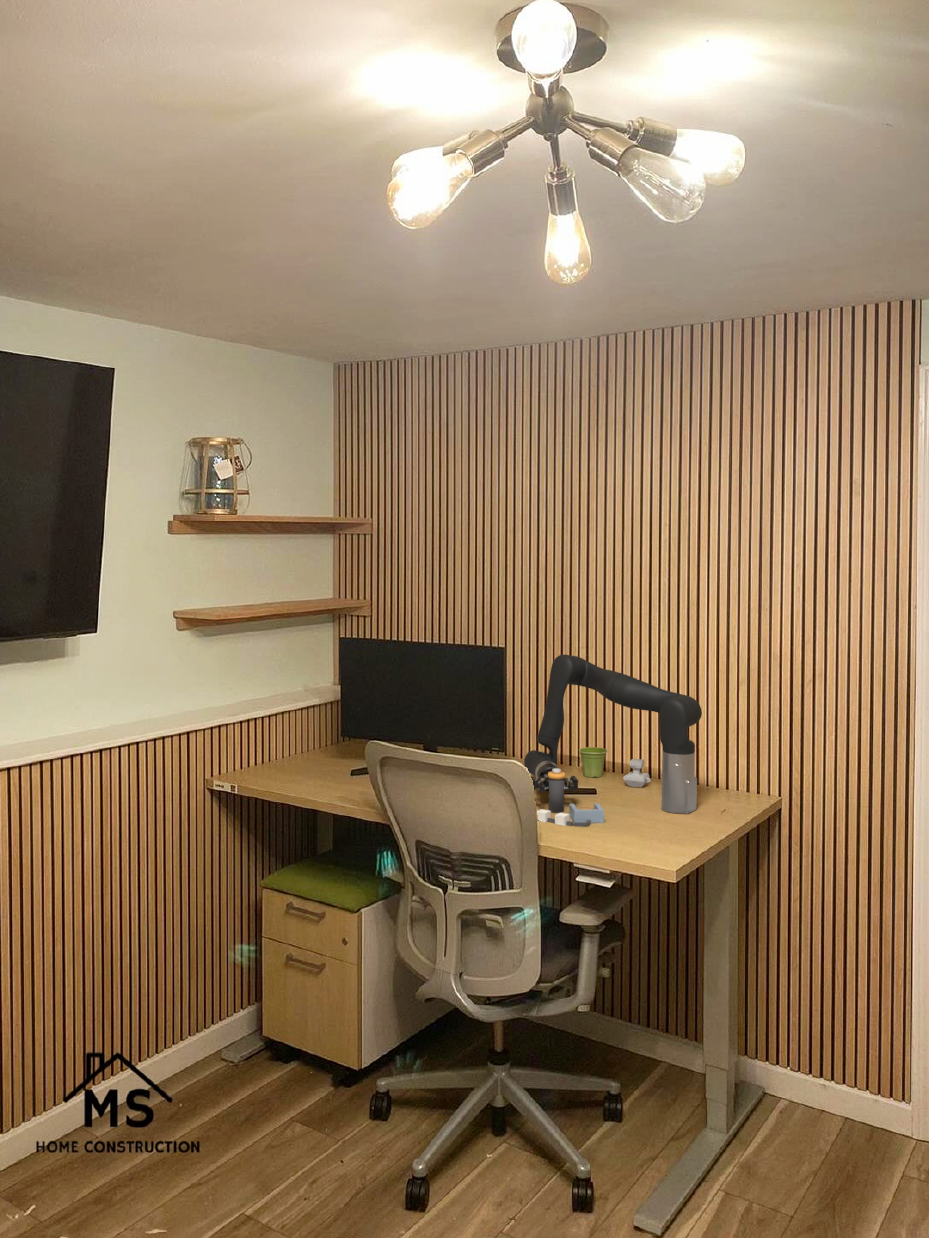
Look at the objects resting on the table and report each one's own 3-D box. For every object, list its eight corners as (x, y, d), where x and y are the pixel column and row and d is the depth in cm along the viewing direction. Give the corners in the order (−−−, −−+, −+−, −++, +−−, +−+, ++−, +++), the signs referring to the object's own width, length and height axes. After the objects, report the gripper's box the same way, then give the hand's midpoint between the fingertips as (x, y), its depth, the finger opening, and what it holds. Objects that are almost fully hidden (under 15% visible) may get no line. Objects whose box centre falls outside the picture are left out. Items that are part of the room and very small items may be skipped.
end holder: (569, 814, 290) (569, 802, 289) (597, 814, 290) (598, 802, 290) (574, 823, 281) (574, 810, 281) (604, 822, 282) (604, 810, 282)
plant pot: (598, 780, 330) (598, 754, 329) (573, 776, 335) (573, 750, 335) (612, 775, 337) (612, 749, 336) (587, 771, 343) (587, 745, 342)
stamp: (620, 786, 321) (620, 760, 321) (625, 782, 327) (626, 756, 327) (647, 790, 318) (648, 763, 317) (653, 785, 324) (653, 759, 323)
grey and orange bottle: (568, 810, 294) (568, 768, 293) (559, 814, 290) (559, 771, 289) (553, 807, 297) (553, 766, 296) (544, 811, 293) (544, 769, 292)
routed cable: (593, 823, 281) (593, 814, 281) (581, 829, 275) (581, 820, 275) (547, 814, 290) (547, 805, 289) (534, 820, 284) (534, 811, 284)
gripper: (525, 763, 307) (533, 776, 290) (572, 762, 308) (582, 775, 291) (525, 787, 307) (532, 802, 291) (571, 787, 308) (582, 801, 292)
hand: (557, 788), depth 291 cm, fingers open, 7 cm apart
